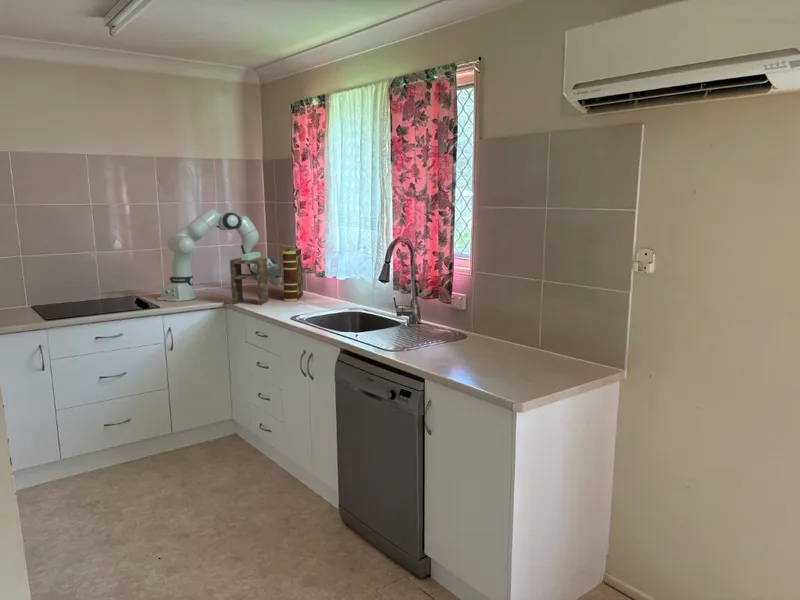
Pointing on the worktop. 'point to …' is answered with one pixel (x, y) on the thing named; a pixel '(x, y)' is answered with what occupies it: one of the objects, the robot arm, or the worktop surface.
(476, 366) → the worktop surface
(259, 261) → the walnut shelf
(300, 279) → the decorative book
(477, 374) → the worktop surface
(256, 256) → the pale green bar
